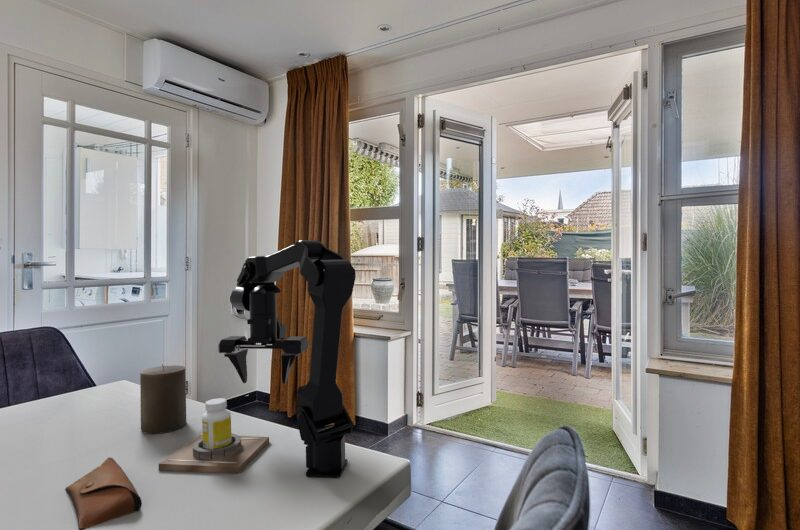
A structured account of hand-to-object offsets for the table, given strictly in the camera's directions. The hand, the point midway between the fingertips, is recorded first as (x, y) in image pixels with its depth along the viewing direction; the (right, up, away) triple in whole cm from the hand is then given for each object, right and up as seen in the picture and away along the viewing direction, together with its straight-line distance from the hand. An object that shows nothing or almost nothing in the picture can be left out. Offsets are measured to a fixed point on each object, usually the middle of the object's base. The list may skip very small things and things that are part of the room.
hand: (264, 383), depth 101 cm
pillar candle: (-26, -13, +7) cm, 30 cm away
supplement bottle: (-7, -11, -9) cm, 16 cm away
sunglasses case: (-20, -14, -25) cm, 35 cm away
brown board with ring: (-7, -12, -9) cm, 17 cm away
